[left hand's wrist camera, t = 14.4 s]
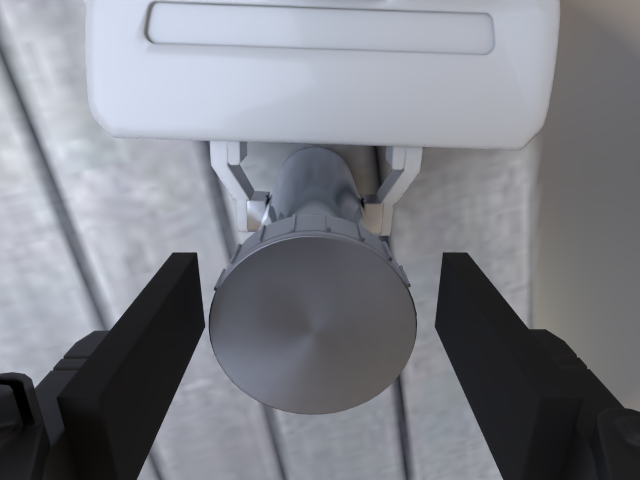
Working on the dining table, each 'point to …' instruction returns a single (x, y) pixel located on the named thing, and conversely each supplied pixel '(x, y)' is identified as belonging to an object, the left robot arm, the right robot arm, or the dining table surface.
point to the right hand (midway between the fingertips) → (315, 230)
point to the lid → (312, 315)
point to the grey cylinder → (315, 188)
